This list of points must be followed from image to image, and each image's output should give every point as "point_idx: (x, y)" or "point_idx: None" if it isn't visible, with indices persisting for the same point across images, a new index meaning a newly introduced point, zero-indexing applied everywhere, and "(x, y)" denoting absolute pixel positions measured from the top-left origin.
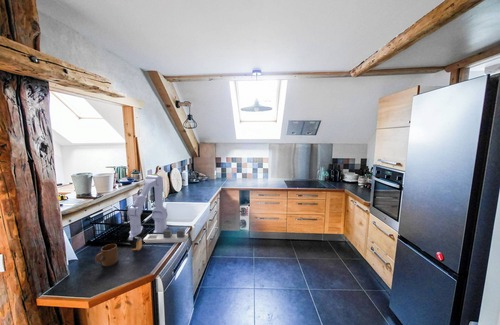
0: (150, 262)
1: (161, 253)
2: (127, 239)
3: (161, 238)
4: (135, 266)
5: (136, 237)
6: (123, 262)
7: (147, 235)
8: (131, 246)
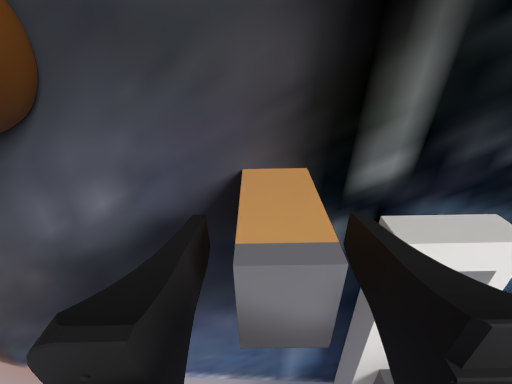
0: None
1: (205, 360)
2: (27, 356)
3: (372, 362)
4: (28, 291)
5: (319, 302)
6: (27, 192)
7: (501, 251)
8: (178, 234)
